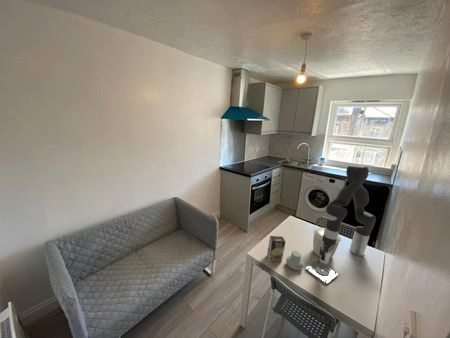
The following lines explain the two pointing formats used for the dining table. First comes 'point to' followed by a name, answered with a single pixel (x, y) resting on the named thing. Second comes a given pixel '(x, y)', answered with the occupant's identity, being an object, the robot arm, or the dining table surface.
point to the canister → (319, 242)
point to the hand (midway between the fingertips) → (324, 258)
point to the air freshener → (295, 261)
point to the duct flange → (322, 272)
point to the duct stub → (326, 257)
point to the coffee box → (276, 248)
